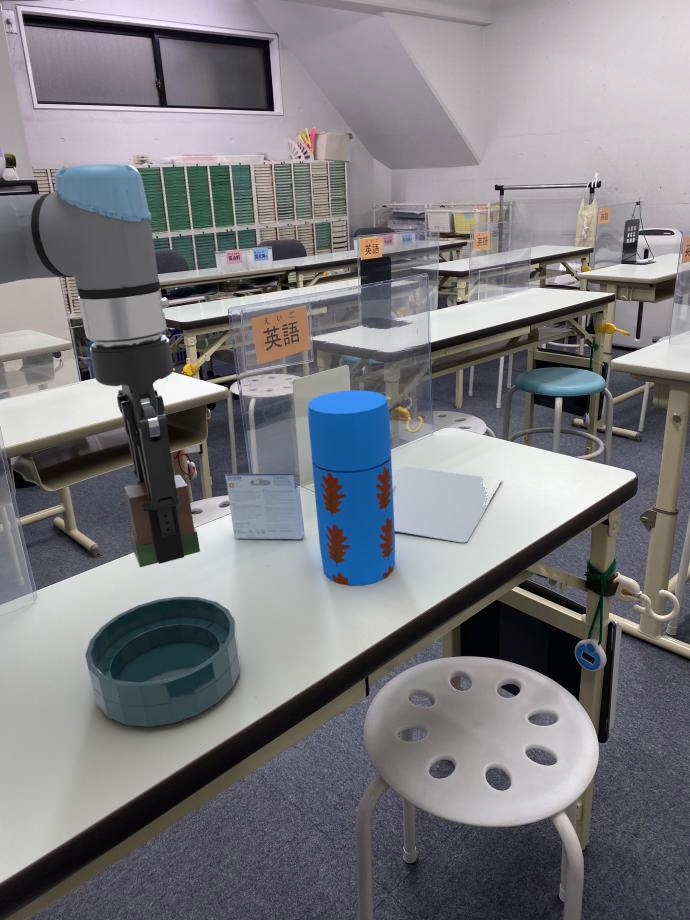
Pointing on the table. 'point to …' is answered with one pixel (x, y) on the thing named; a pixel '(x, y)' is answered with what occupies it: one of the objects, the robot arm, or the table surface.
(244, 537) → the ink box
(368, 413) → the thermos
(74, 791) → the table surface
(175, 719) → the bowl
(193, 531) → the sponge
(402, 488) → the white flat square sheet
